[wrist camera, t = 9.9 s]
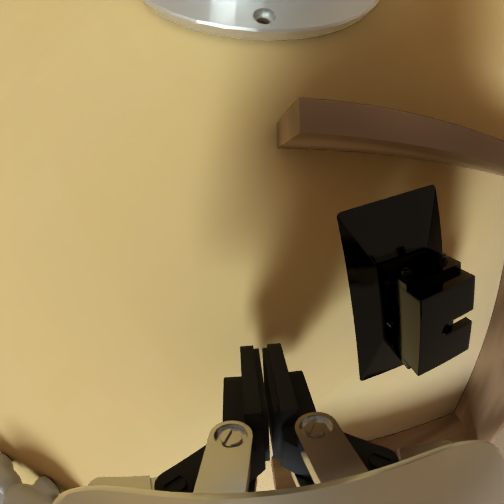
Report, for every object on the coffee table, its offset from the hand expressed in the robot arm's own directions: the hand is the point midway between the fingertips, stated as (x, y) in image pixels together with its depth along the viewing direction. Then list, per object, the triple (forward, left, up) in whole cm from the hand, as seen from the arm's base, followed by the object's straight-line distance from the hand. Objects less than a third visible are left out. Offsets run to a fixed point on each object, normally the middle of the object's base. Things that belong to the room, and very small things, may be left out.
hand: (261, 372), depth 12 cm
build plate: (-3, +7, -2) cm, 8 cm away
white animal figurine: (+20, -24, -2) cm, 31 cm away
